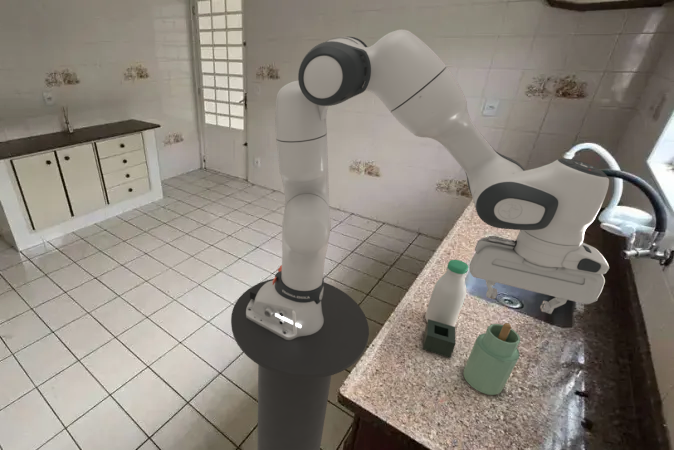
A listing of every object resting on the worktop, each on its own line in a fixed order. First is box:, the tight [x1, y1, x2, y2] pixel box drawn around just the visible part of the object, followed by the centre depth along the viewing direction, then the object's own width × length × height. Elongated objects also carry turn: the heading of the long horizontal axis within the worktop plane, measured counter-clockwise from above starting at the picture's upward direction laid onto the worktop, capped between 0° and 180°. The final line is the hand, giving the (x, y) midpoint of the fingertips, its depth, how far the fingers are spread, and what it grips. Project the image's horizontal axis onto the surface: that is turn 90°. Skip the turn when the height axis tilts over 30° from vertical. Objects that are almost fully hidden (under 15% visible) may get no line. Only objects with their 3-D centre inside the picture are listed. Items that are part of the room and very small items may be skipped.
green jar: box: [463, 323, 521, 396], centre depth 79 cm, size 8×8×15 cm
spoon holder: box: [422, 319, 456, 358], centre depth 91 cm, size 6×6×5 cm
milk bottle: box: [424, 259, 469, 328], centre depth 95 cm, size 8×8×20 cm
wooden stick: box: [498, 322, 512, 341], centre depth 78 cm, size 1×2×17 cm, turn 153°
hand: (517, 303), depth 72 cm, fingers open, 8 cm apart
